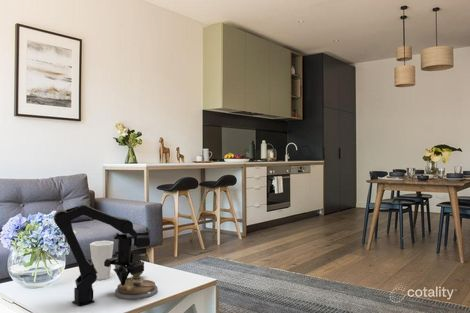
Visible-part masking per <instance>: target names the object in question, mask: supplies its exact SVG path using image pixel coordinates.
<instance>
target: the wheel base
mask: <svg viewBox="0 0 470 313" xmlns="http://www.w3.org/2000/svg"><path fill="white" fill-rule="evenodd" d="M157 294H158V286H157V285H156V284H155V289H154V290H152V291H150V292H148V293H144V294H136V295H128V294H122V293H119V292H118V291H117V288H116V289H114V296H115V297H116V298H118V299H121V300H126V301H133V300H134V301H135V300H137V301H138V300H144V299H148V298H151V297H153V296H156V295H157Z"/></svg>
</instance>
